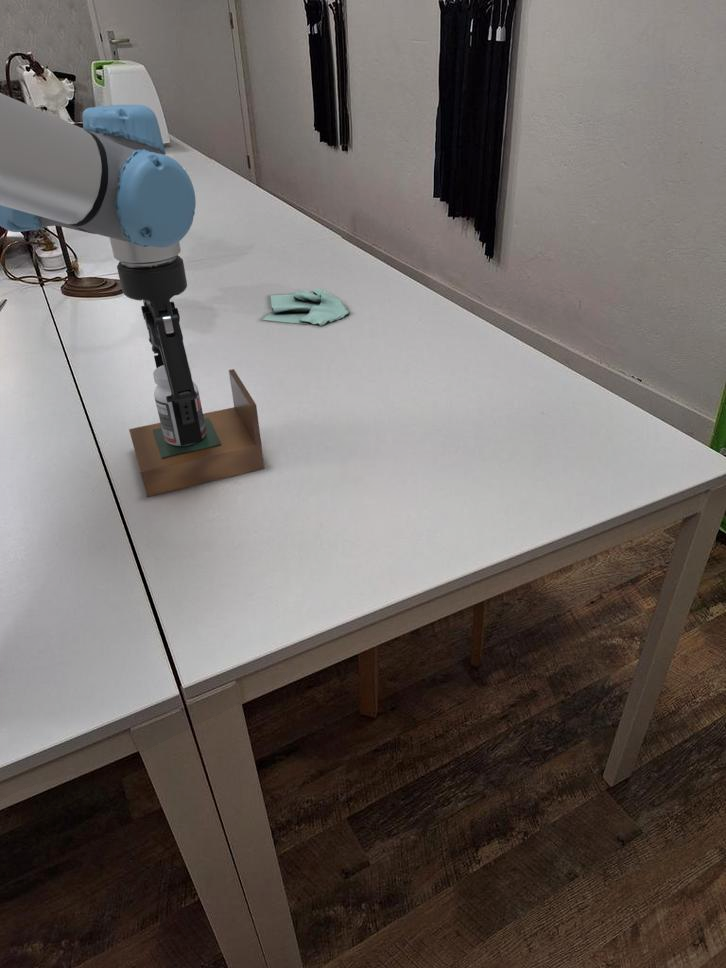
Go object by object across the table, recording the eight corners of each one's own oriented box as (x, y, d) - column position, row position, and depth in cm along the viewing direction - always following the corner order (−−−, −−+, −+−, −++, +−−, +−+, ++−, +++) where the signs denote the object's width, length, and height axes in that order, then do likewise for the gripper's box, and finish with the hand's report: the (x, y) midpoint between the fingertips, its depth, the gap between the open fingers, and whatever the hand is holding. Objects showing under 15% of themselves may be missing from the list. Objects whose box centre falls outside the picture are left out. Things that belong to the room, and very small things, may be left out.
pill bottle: (209, 425, 92) (198, 360, 86) (203, 446, 87) (190, 379, 82) (169, 427, 92) (154, 362, 86) (160, 448, 87) (144, 381, 82)
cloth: (328, 330, 131) (327, 319, 130) (237, 316, 139) (235, 304, 137) (370, 298, 146) (370, 288, 145) (286, 286, 154) (285, 276, 152)
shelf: (146, 497, 85) (129, 431, 80) (135, 452, 95) (118, 390, 89) (264, 468, 90) (256, 404, 85) (242, 429, 99) (233, 368, 94)
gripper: (203, 284, 68) (231, 457, 80) (164, 230, 86) (191, 376, 99) (128, 295, 65) (168, 471, 77) (105, 237, 84) (140, 386, 96)
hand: (181, 418), depth 88 cm, fingers open, 13 cm apart
